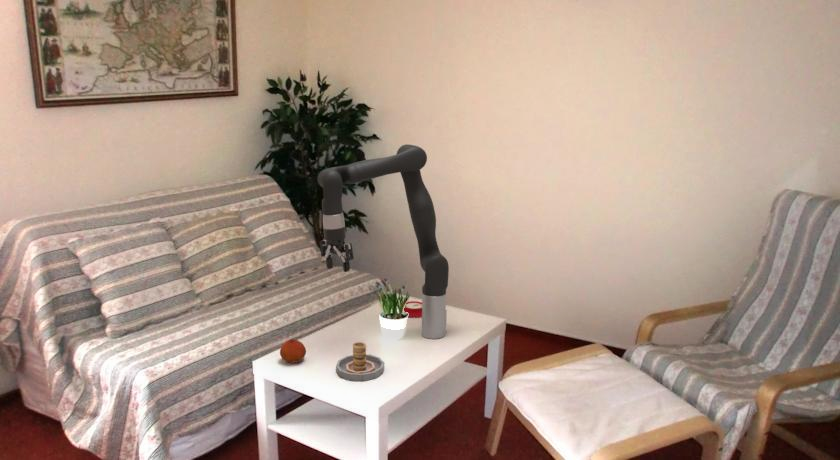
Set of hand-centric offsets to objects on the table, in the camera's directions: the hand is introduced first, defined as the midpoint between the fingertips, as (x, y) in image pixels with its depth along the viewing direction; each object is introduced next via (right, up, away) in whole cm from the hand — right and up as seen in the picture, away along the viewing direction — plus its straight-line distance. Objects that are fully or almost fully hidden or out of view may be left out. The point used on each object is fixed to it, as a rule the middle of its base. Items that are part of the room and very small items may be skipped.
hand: (338, 269), depth 234 cm
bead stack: (+8, -34, -9) cm, 36 cm away
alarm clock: (+28, -22, +45) cm, 57 cm away
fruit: (-16, -32, -2) cm, 36 cm away
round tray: (+9, -34, -9) cm, 36 cm away
